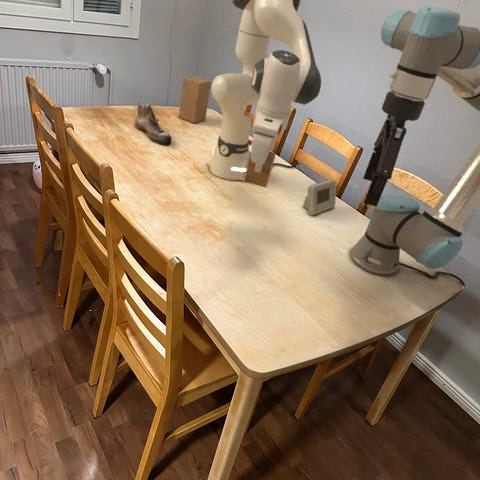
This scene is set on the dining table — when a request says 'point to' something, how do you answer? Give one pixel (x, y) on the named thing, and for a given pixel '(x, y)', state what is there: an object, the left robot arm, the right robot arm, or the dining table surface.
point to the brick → (264, 175)
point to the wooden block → (194, 99)
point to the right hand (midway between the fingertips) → (369, 191)
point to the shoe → (151, 124)
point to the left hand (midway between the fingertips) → (260, 167)
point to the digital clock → (320, 196)
